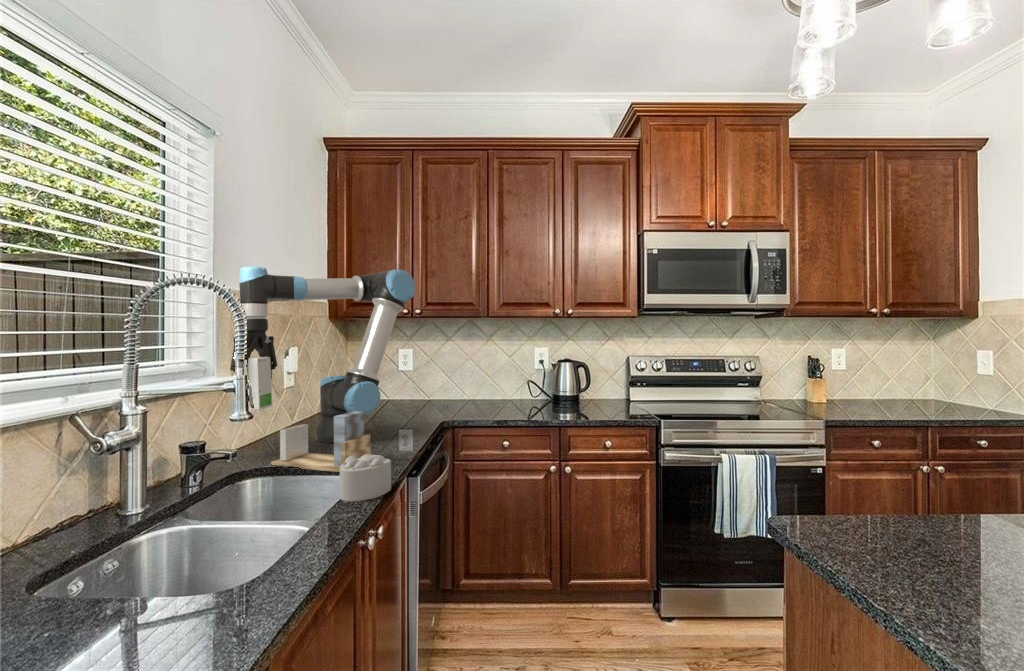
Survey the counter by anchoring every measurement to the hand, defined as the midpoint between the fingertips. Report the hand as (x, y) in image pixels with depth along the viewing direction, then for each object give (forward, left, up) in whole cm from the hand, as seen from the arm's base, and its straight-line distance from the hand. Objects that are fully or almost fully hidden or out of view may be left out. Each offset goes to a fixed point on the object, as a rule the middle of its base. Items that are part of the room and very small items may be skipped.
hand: (255, 392), depth 160 cm
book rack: (-3, +21, -21) cm, 30 cm away
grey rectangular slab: (-3, +12, -19) cm, 23 cm away
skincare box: (0, 0, -5) cm, 5 cm away
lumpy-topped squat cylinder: (+19, +49, -21) cm, 57 cm away
